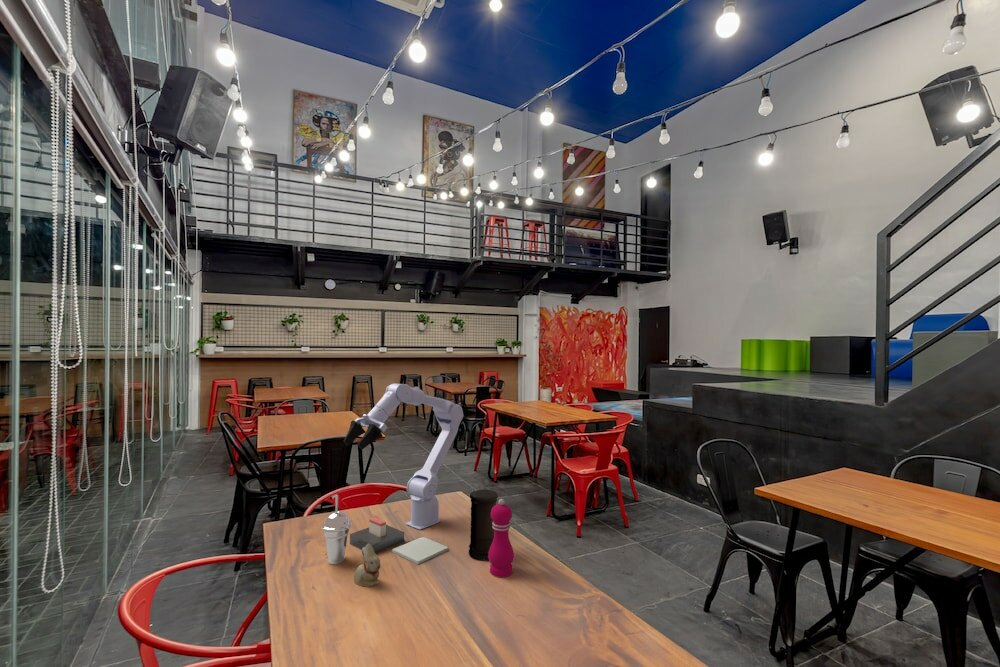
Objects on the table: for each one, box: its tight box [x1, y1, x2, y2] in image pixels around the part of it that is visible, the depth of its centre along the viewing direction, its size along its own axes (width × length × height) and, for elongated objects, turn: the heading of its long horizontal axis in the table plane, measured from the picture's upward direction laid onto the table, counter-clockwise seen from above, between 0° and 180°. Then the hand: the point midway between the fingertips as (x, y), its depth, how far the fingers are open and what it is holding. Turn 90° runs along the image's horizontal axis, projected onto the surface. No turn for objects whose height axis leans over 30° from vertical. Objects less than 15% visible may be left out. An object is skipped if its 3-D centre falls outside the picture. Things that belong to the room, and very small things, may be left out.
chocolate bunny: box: [353, 544, 381, 588], centre depth 119 cm, size 6×8×10 cm
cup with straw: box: [320, 493, 353, 565], centre depth 131 cm, size 8×9×20 cm
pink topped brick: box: [368, 517, 387, 537], centre depth 143 cm, size 2×6×7 cm, turn 50°
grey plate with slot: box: [349, 524, 405, 555], centre depth 143 cm, size 12×12×3 cm
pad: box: [391, 536, 449, 565], centre depth 137 cm, size 12×12×1 cm
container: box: [468, 489, 499, 561], centre depth 136 cm, size 9×9×18 cm
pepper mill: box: [488, 498, 515, 578], centre depth 125 cm, size 7×7×20 cm
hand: (352, 445), depth 138 cm, fingers open, 7 cm apart
